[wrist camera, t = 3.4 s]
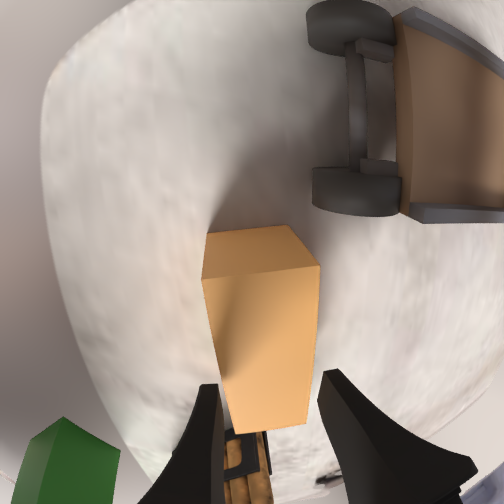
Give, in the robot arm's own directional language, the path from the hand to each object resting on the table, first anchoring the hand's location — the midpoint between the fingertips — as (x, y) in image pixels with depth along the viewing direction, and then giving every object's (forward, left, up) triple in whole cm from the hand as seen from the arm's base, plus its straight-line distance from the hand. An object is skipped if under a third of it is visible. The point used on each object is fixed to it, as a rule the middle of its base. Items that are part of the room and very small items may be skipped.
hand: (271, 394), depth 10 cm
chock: (0, 0, -6) cm, 6 cm away
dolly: (-11, -11, -6) cm, 17 cm away
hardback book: (+24, +21, -6) cm, 33 cm away
